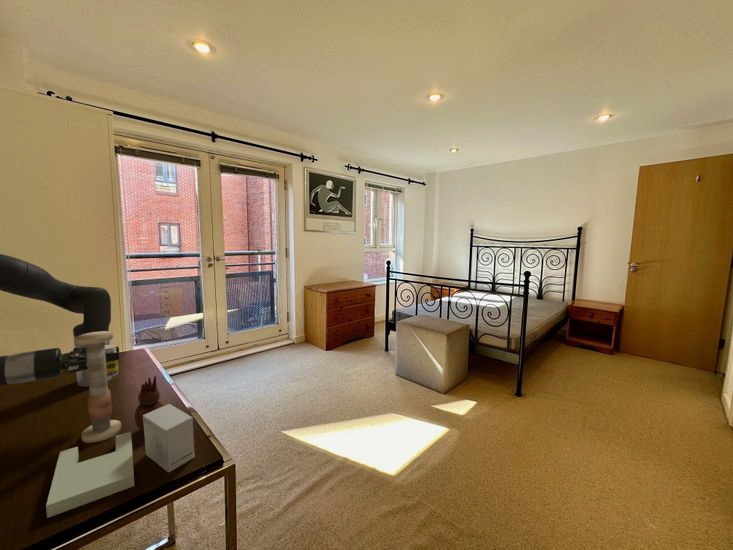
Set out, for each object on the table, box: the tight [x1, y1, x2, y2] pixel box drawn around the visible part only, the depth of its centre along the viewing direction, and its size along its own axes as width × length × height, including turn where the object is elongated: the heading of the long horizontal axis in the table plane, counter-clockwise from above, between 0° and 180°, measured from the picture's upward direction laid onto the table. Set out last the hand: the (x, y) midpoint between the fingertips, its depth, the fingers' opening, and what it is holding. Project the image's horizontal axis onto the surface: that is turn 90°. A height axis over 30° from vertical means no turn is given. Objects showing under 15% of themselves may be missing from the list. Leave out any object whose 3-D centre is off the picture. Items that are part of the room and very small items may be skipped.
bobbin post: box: [76, 330, 122, 444], centre depth 82 cm, size 8×8×26 cm
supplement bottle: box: [105, 344, 119, 378], centre depth 90 cm, size 5×5×8 cm
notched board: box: [45, 431, 135, 519], centre depth 69 cm, size 18×13×2 cm
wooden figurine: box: [134, 375, 165, 433], centre depth 85 cm, size 7×6×15 cm
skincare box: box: [143, 403, 196, 473], centre depth 75 cm, size 10×6×10 cm, turn 58°
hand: (118, 352), depth 92 cm, fingers closed on supplement bottle, 4 cm apart
